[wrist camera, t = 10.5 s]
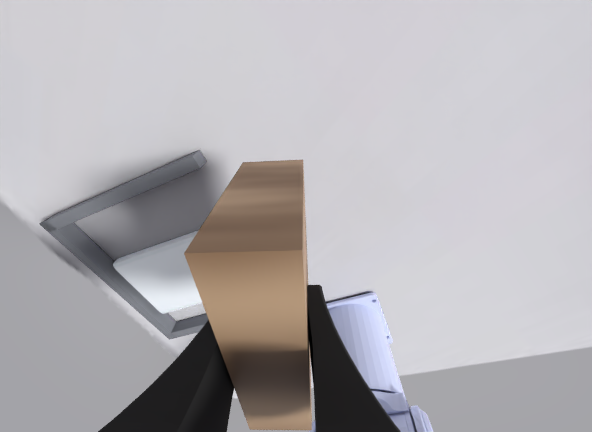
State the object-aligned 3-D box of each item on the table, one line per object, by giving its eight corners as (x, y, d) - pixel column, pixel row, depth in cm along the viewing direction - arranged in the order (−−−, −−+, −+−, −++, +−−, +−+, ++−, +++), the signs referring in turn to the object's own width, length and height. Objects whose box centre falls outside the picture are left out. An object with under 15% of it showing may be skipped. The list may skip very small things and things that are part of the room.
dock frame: (291, 297, 27) (290, 309, 26) (174, 328, 31) (169, 339, 30) (199, 149, 19) (192, 155, 18) (54, 214, 22) (39, 223, 21)
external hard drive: (121, 254, 26) (223, 218, 23) (169, 303, 29) (262, 278, 27) (110, 265, 24) (218, 228, 21) (162, 315, 28) (259, 289, 25)
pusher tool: (309, 307, 18) (311, 430, 12) (267, 308, 18) (250, 429, 12) (303, 159, 12) (302, 250, 6) (243, 162, 12) (183, 253, 6)
